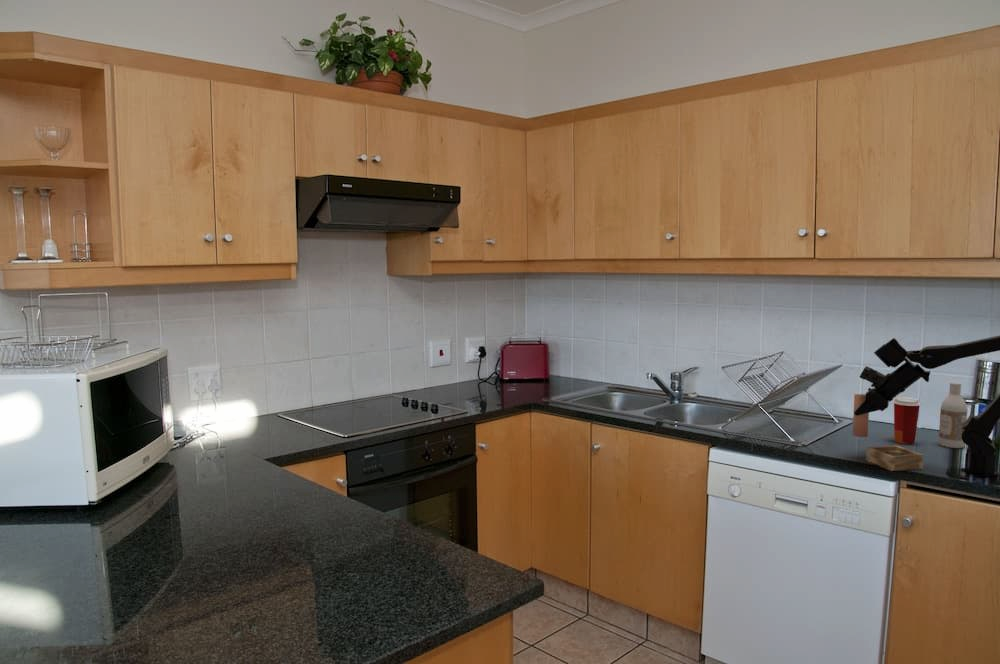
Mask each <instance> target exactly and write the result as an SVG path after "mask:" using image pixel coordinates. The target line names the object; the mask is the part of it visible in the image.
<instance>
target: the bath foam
mask: <svg viewBox="0 0 1000 664" xmlns="http://www.w3.org/2000/svg"><path fill="white" fill-rule="evenodd" d="M961 389H962V383H961V382H957V381H956V382H955V381H951V382H949V391H948V395H947V396H946V397H945V398H944V400H943V401H942V403H941V406H940V412H939V413H940V415H939V429H938V430H939V431H938V433H939V434H938V444H939V445H940V446H941V447H944V446H945V448H950V449H951V448H952V449H962V448H965V445H966V444H965V443H964V442H963V440H962V437H961V429H962V423H963V422H965V421H966V420H967V419H968V406H967V403H966V402H965V400H964V398H963V397H962V396H961V395H962V394H961V391H962V390H961Z"/></svg>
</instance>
